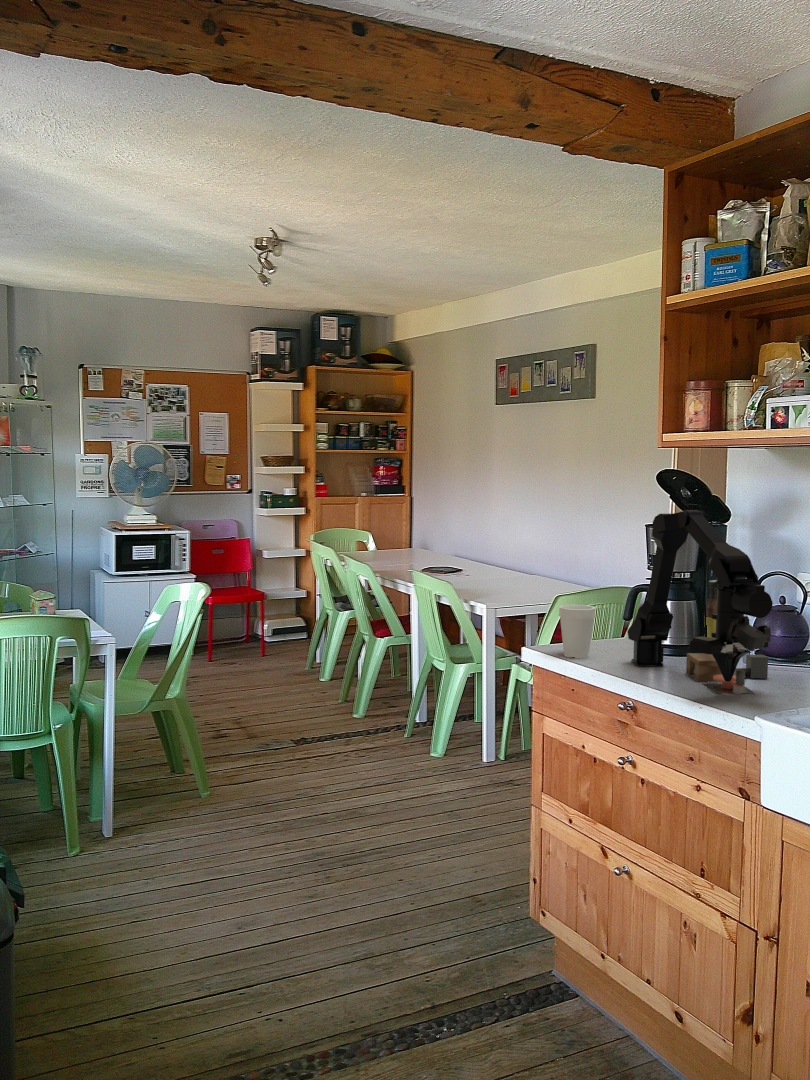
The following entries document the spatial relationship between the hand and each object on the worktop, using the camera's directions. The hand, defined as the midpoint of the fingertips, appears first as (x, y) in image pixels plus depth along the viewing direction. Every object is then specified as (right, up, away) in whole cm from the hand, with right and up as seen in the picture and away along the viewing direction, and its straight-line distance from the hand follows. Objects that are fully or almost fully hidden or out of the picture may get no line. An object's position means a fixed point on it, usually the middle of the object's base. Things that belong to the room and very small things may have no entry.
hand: (727, 681), depth 204 cm
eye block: (+1, -2, +18) cm, 18 cm away
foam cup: (-26, 0, +42) cm, 49 cm away
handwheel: (+2, -3, +4) cm, 6 cm away
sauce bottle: (+12, 0, +45) cm, 46 cm away
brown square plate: (+2, -3, +7) cm, 7 cm away
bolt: (+7, -2, +18) cm, 19 cm away
